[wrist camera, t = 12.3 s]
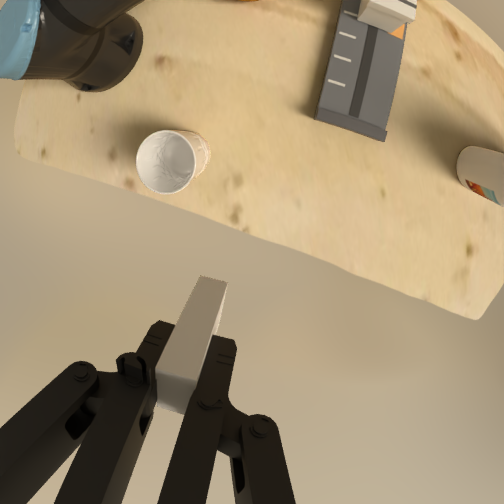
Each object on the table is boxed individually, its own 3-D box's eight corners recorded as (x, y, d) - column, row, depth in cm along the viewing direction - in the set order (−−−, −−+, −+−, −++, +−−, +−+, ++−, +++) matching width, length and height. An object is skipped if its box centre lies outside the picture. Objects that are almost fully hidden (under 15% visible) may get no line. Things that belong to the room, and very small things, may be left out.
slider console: (377, 140, 37) (384, 141, 34) (313, 119, 37) (316, 118, 34) (404, 10, 26) (411, 5, 24) (344, -13, 26) (348, -21, 24)
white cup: (167, 127, 39) (137, 129, 30) (217, 129, 39) (198, 131, 30) (164, 176, 42) (135, 191, 33) (212, 181, 42) (193, 197, 33)
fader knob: (392, 35, 27) (414, 20, 20) (354, 20, 27) (370, 0, 20) (396, 12, 25) (417, -6, 18) (359, -2, 25) (374, -25, 18)
